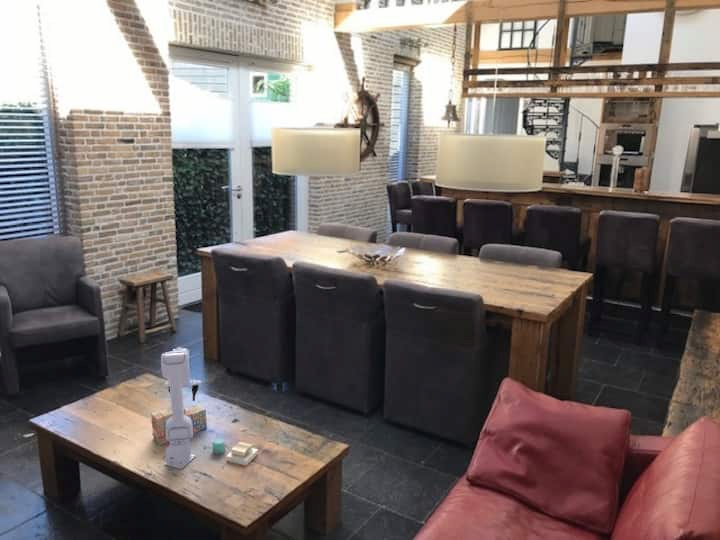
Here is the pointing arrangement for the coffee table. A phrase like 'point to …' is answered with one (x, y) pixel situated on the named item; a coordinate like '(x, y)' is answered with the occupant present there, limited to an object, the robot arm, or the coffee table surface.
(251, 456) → the white slab
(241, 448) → the maple block
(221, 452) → the teal rounded piece
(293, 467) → the coffee table surface
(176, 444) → the robot arm
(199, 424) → the stack of blocks
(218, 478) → the coffee table surface
